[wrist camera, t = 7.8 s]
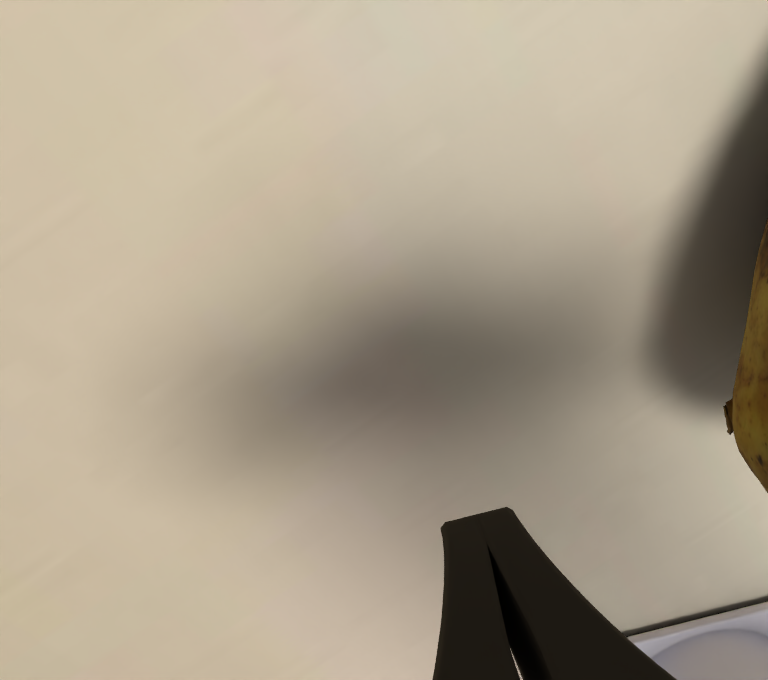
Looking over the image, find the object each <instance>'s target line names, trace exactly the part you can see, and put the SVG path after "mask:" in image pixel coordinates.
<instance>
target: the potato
mask: <svg viewBox="0 0 768 680" xmlns="http://www.w3.org/2000/svg"><path fill="white" fill-rule="evenodd" d="M723 408H724V413H725V417H726V424H727V428H728V430H727V432H728V433H729V434H730V435H731V433H733V431H734V435H735V440H736V443H737V446H738V449H739V452H740V453H741V455H742V457H743V458H744V460H745V461H746V463H747V465H748V466H749V468H750V469H751V471H752V472H753V473H754V475H755V476H756V477H757V478H758V480H759V481H760V482H761V484H762V485H763V487H764V488H765V490H766V491H767V493H768V218H767V222H766V226H765V229H764V232H763V236H762V240H761V244H760V248H759V252H758V256H757V260H756V266H755V271H754V277H753V283H752V291H751V298H750V304H749V310H748V316H747V322H746V328H745V333H744V338H743V343H742V348H741V353H740V359H739V364H738V369H737V374H736V380H735V385H734V390H733V398H732V399H731V400H729V401H727V402H726V405H725V406H723Z"/></svg>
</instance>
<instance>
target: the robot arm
mask: <svg viewBox="0 0 768 680" xmlns="http://www.w3.org/2000/svg"><path fill="white" fill-rule="evenodd" d="M441 533H442V538H443V547H444V592H443V606H442V619H441V628H440V635H439V642H438V649H437V656H436V663H435V669H434V675H433V680H520V678H519V675H518V672H517V669H516V666H515V663H514V660H513V657H512V653H513V656H514V658H515V661H516V663H517V666H518V668H519V671H520V673H521V675H522V678H523V680H768V602H764V603H760V604H756V605H752V606H748V607H744V608H740V609H736V610H732V611H728V612H724V613H720V614H716V615H712V616H708V617H705V618H701V619H697V620H693V621H689V622H685V623H681V624H677V625H673V626H669V627H665V628H661V629H657V630H653V631H649V632H645V633H641V634H637V635H633V636H629V637H625V636H624V635H623V634H622V633H621V632H620V631H619V630H618V629H617V628H616V627H614V626H613V625H612V624H611V623H610V622H609V621H608V620H607V619H606V618H605V617H604V616H603V615H602V614H601V613H600V612H599V611H598V610H597V609H596V608H595V607H594V606H593V605H592V604H591V603H590V602H589V601H588V600H587V599H586V598H585V597H584V596H583V595H582V594H581V593H580V592H579V591H578V590H577V589H576V588H575V587H574V586H573V585H572V584H571V582H570V581H569V580H568V579H567V578H566V577H565V576H564V575H563V574H562V573H561V572H560V571H559V569H558V568H557V567H556V566H555V565H554V564H553V563H552V562H551V560H550V559H549V558H548V557H547V556H546V554H545V553H544V552H543V551H542V550H541V548H540V547H539V546H538V545H537V543H536V542H535V541H534V540H533V538H532V537H531V536H530V534H529V533H528V532H527V530H526V529H525V528H524V526H523V525H522V523H521V522H520V521H519V519H518V518H517V516H516V515H515V513H514V511H513V510H512V509H510V508H508V507H504V508H500V509H496V510H492V511H488V512H484V513H480V514H476V515H472V516H468V517H464V518H460V519H456V520H452V521H448V522H445V523H444V525H443V526H442V527H441ZM510 648H511V650H510ZM511 651H512V653H511Z"/></svg>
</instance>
